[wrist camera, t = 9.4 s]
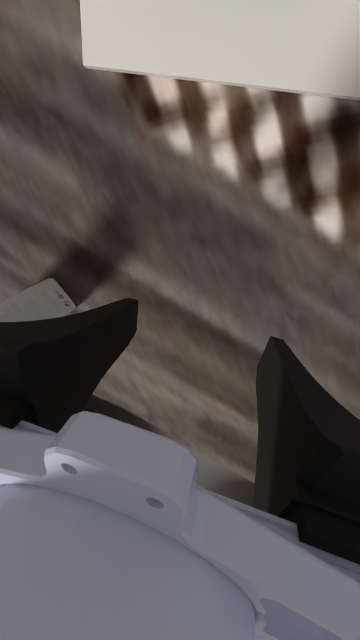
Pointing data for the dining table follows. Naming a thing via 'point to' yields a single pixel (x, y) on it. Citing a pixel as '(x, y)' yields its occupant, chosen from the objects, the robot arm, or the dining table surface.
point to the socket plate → (229, 42)
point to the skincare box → (37, 303)
